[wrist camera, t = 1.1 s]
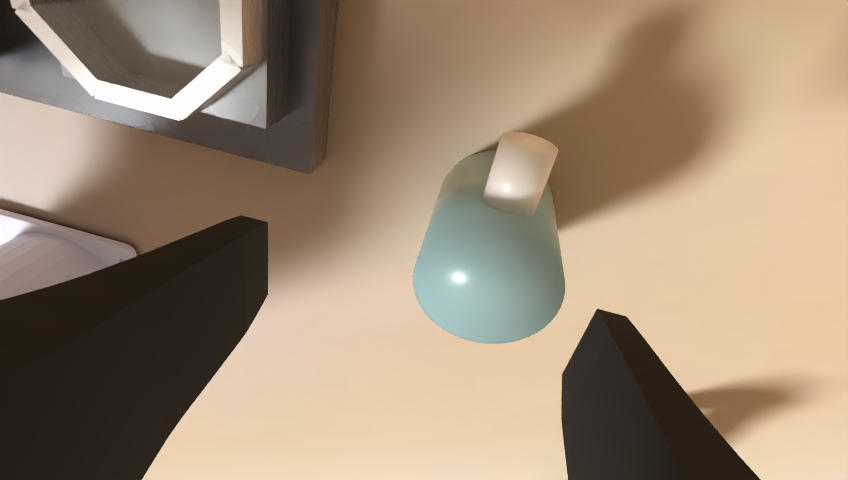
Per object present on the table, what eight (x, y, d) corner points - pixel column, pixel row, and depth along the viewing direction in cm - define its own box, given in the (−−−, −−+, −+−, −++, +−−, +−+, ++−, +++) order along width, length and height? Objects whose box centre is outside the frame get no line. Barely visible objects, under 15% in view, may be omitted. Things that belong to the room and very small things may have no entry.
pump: (531, 262, 19) (535, 359, 14) (429, 235, 19) (401, 322, 15) (589, 120, 16) (619, 186, 11) (465, 88, 16) (444, 141, 11)
